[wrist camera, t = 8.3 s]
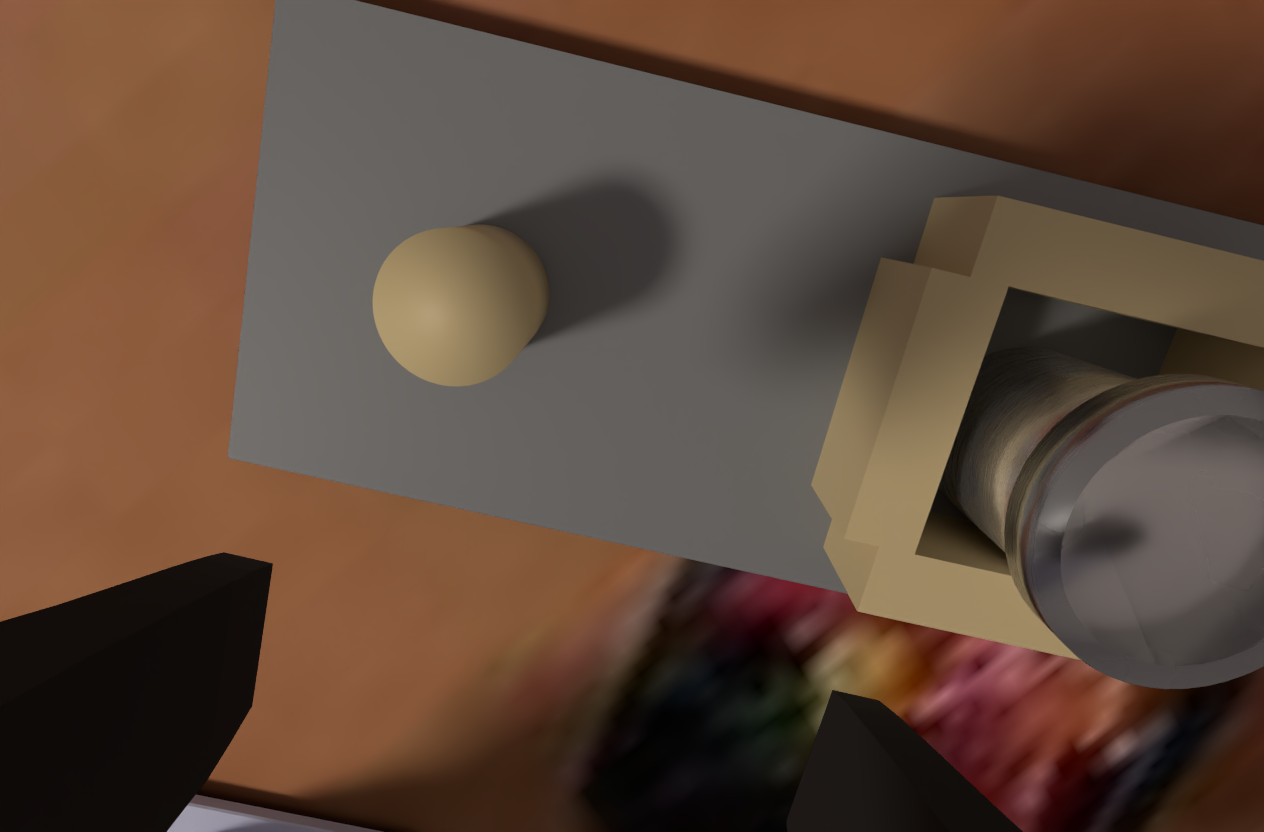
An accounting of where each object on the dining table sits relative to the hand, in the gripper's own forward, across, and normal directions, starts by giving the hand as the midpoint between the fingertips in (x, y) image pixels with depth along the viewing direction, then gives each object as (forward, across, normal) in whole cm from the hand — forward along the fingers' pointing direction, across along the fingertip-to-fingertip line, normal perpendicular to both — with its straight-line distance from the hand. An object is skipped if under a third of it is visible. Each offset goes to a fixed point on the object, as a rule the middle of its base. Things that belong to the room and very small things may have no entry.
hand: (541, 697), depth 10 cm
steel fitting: (+8, -9, -3) cm, 13 cm away
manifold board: (+9, -4, -4) cm, 11 cm away
